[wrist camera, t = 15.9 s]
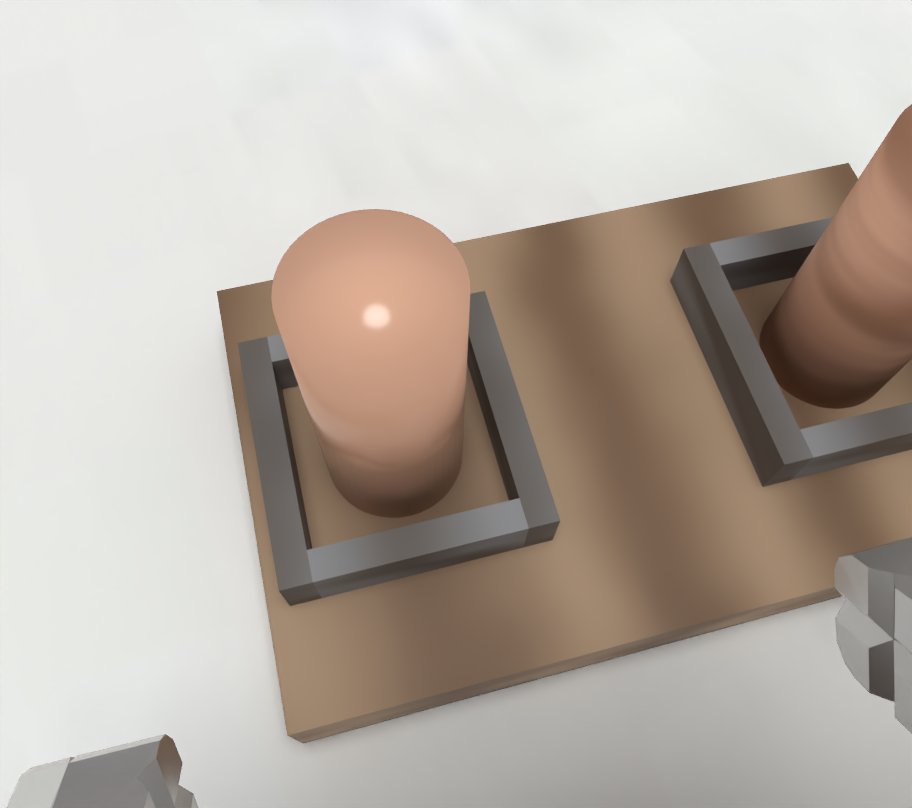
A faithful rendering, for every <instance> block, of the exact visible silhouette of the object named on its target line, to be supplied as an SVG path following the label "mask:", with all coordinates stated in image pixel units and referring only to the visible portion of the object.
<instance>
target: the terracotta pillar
mask: <svg viewBox="0 0 912 808" xmlns="http://www.w3.org/2000/svg"><path fill="white" fill-rule="evenodd" d="M271 299H272V309H273V312H274V316H275V320H276V323H277V325H278V328H279V331H280V334H281V337H282V340H283V343H284V345H285V348H286V351H287V354H288V357H289V360H290V362H291V365H292V368H293V371H294V374H295V377H296V380H297V382H298V385H299V388H300V391H301V394H302V397H303V399H304V402H305V405H306V408H307V411H308V414H309V416H310V419H311V422H312V425H313V428H314V431H315V434H316V436H317V439H318V442H319V445H320V448H321V451H322V453H323V456H324V459H325V462H326V465H327V468H328V471H329V473H330V476H331V479H332V481H333V483H334V485H335V487H336V488H337V490H338V491H339V493H340V494H341V495H342V496H343V497H344V498H345V499H346V500H347V501H348V502H349V503H350V504H352V505H353V506H355V507H356V508H358V509H360V510H362V511H364V512H366V513H369V514H372V515H375V516H380V517H387V518H400V517H407V516H411V515H415V514H418V513H420V512H423V511H425V510H427V509H429V508H430V507H432V506H434V505H435V504H436V503H438V502H439V501H440V500H441V499H443V497H444V496H445V495H446V494H447V493H448V492H449V491H450V489H451V488H452V487H453V485H454V483H455V481H456V479H457V477H458V475H459V472H460V469H461V464H462V455H463V435H464V414H465V393H466V373H467V352H468V331H469V311H470V278H469V274H468V270H467V267H466V264H465V262H464V259H463V257H462V256H461V254H460V252H459V251H458V249H457V248H456V246H455V245H454V244H453V243H452V241H451V240H450V239H449V238H448V237H447V236H446V235H445V234H444V233H442V232H441V231H440V230H438V229H437V228H436V227H434V226H433V225H431V224H429V223H427V222H426V221H424V220H422V219H419V218H417V217H415V216H412V215H409V214H405V213H402V212H397V211H391V210H380V209H369V210H358V211H352V212H348V213H344V214H340V215H337V216H334V217H331V218H329V219H327V220H325V221H323V222H321V223H318V224H317V225H315V226H314V227H312V228H310V229H309V230H307V231H306V232H305V233H304V234H302V235H301V236H300V237H299V238H298V239H297V240H296V241H295V242H294V243H293V244H292V245H291V246H290V247H289V249H288V250H287V251H286V253H285V254H284V256H283V257H282V259H281V261H280V263H279V265H278V267H277V270H276V272H275V275H274V279H273V284H272V295H271Z"/></svg>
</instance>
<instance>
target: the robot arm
mask: <svg viewBox="0 0 912 808" xmlns="http://www.w3.org/2000/svg"><path fill="white" fill-rule="evenodd" d="M834 580H835V588H836V589H837V590H838V591H839V592H840V593H841V594H842V595H843V596H844V597H845V598H846V601H845V603H844V604H843V606H842V608H841V610H840V611H839V613H838V615H837V616H836V618H835V620H836V634H837V643H838V646H839V648H840V651H841V654H842V656H843V659H844V662H845V664H846V665H847V667H848V668H849V670H850V671H851V673H852V674H853V676H854V677H855V679H856V680H857V681H858V682H859V683H860V684H861V685H862V686H863V687H864V688H865V689H866V690H867V691H868V692H869V693H871V694H874V695H877V696H880V697H882V698H885V699H888V700H891V701H894V711H895V718H896V719H897V720H898V721H899V722H900V723H901V724H902V725H903V726H904V727H905V728H906V729H907V730H908V731H909V732H910V733H912V537H910V538H907V539H903V540H899V541H896V542H892V543H888V544H885V545H881V546H878V547H874V548H870V549H867V550H863V551H859V552H856V553H852V554H848V555H845V556H841V557H839V558H838V561H837V563H836V566H835V569H834ZM181 767H182V761H181V758H180V756H179V753H178V751H177V748H176V746H175V743H174V741H173V739H172V738H170V737H169V736H167V735H166V734H165V735H161V736H156V737H152V738H148V739H144V740H140V741H136V742H132V743H127V744H123V745H119V746H115V747H111V748H107V749H103V750H99V751H94V752H90V753H86V754H82V755H78V756H76V757H70V758H66V759H62V760H59V761H55V762H51V763H47V764H43V765H40V766H36V767H32V768H30V769H29V770H27V771H26V772H25V773H23V774H22V775H21V777H20V778H19V780H18V782H17V785H16V787H15V789H14V791H13V794H12V796H11V798H10V801H9V803H8V805H7V807H6V808H198V806H197V803H196V800H195V797H194V794H193V793H191V792H189V791H188V790H186V789H185V788H183V787H181V786H180V785H178V784H179V778H180V773H181Z"/></svg>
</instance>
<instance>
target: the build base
mask: <svg viewBox="0 0 912 808" xmlns="http://www.w3.org/2000/svg"><path fill="white" fill-rule="evenodd" d="M453 244H454V245H455V246H456V248H457V249H458V251H459V252H460V254H461V256H462V257H463V259H464V262H465V264H466V267H467V270H468V274H469V278H470V311H469V331H468V352H467V373H466V393H465V414H464V435H463V455H462V464H461V469H460V472H459V475H458V477H457V479H456V481H455V483H454V485H453V487H452V488H451V489H450V491H449V492H448V493H447V494H446V495H445V496H444V497H443V499H441V500H440V501H439V502H438V503H436V504H435V505H434V506H432V507H430V508H429V509H427V510H425V511H423V512H420V513H418V514H415V515H411V516H407V517H400V518H387V517H380V516H375V515H372V514H369V513H366V512H364V511H362V510H360V509H358V508H356V507H355V506H353V505H352V504H350V503H349V502H348V501H347V500H346V499H345V498H344V497H343V496H342V495H341V494H340V493H339V491H338V490H337V488H336V487H335V485H334V483H333V481H332V479H331V476H330V473H329V471H328V468H327V465H326V462H325V459H324V456H323V453H322V451H321V448H320V445H319V442H318V439H317V436H316V434H315V431H314V428H313V425H312V422H311V419H310V416H309V414H308V411H307V408H306V405H305V402H304V399H303V397H302V394H301V391H300V388H299V385H298V382H297V380H296V377H295V374H294V371H293V368H292V365H291V362H290V360H289V357H288V354H287V351H286V348H285V345H284V343H283V340H282V337H281V334H280V331H279V328H278V325H277V323H276V320H275V316H274V312H273V309H272V299H271V295H272V284H273V280H270V281H265V282H261V283H256V284H251V285H246V286H241V287H236V288H231V289H226V290H221V291H217V295H218V301H219V308H220V314H221V320H222V327H223V333H224V339H225V345H226V352H227V358H228V364H229V371H230V377H231V383H232V389H233V396H234V402H235V408H236V415H237V421H238V427H239V433H240V440H241V446H242V452H243V459H244V465H245V471H246V477H247V484H248V490H249V496H250V502H251V509H252V515H253V521H254V528H255V534H256V540H257V546H258V553H259V559H260V565H261V572H262V578H263V584H264V590H265V597H266V603H267V609H268V616H269V622H270V628H271V634H272V641H273V647H274V653H275V660H276V666H277V672H278V678H279V685H280V691H281V697H282V704H283V710H284V716H285V722H286V729H287V735H288V736H290V737H292V738H294V739H296V740H298V741H300V742H302V743H306V742H309V741H313V740H317V739H320V738H324V737H328V736H331V735H335V734H339V733H342V732H346V731H350V730H353V729H357V728H361V727H364V726H368V725H372V724H375V723H379V722H382V721H386V720H390V719H393V718H397V717H401V716H404V715H408V714H412V713H415V712H419V711H423V710H426V709H430V708H434V707H437V706H441V705H445V704H448V703H452V702H456V701H459V700H463V699H467V698H470V697H474V696H478V695H481V694H485V693H489V692H492V691H496V690H500V689H503V688H507V687H511V686H514V685H518V684H522V683H525V682H529V681H533V680H536V679H540V678H544V677H547V676H551V675H554V674H558V673H562V672H565V671H569V670H573V669H576V668H580V667H584V666H587V665H591V664H595V663H598V662H602V661H606V660H609V659H613V658H617V657H620V656H624V655H628V654H631V653H635V652H639V651H642V650H646V649H650V648H653V647H657V646H661V645H664V644H668V643H672V642H675V641H679V640H683V639H686V638H690V637H694V636H697V635H701V634H705V633H708V632H712V631H716V630H719V629H723V628H726V627H730V626H734V625H737V624H741V623H745V622H748V621H752V620H756V619H759V618H763V617H767V616H770V615H774V614H778V613H781V612H785V611H789V610H792V609H796V608H800V607H803V606H807V605H811V604H814V603H818V602H822V601H825V600H829V599H833V598H836V597H840V596H843V595H842V594H841V593H840V592H839V591H838V590H837V589H836V588H835V580H834V569H835V566H836V563H837V561H838V558H839V557H841V556H845V555H848V554H852V553H856V552H859V551H863V550H867V549H870V548H874V547H878V546H881V545H885V544H888V543H892V542H896V541H899V540H903V539H907V538H910V537H912V105H910V106H909V107H908V108H907V109H905V110H904V111H903V113H902V114H901V115H900V116H899V118H898V119H897V121H896V122H895V124H894V125H893V127H892V128H891V130H890V131H889V133H888V134H887V136H886V137H885V139H884V141H883V142H882V144H881V145H880V147H879V148H878V150H877V151H876V153H875V154H874V156H873V157H872V159H871V160H870V162H869V164H868V165H867V167H866V168H865V170H864V171H863V173H862V174H861V176H860V177H859V179H858V178H857V176H856V175H855V173H854V171H853V170H852V168H851V167H850V165H849V163H846V164H841V165H836V166H832V167H827V168H822V169H817V170H812V171H807V172H802V173H797V174H792V175H787V176H782V177H777V178H772V179H768V180H763V181H758V182H753V183H748V184H743V185H738V186H733V187H728V188H723V189H718V190H713V191H708V192H704V193H699V194H694V195H689V196H684V197H679V198H674V199H669V200H664V201H659V202H654V203H649V204H644V205H640V206H635V207H630V208H625V209H620V210H615V211H610V212H605V213H600V214H595V215H590V216H585V217H580V218H576V219H571V220H566V221H561V222H556V223H551V224H546V225H541V226H536V227H531V228H526V229H521V230H516V231H512V232H507V233H502V234H497V235H492V236H487V237H482V238H477V239H472V240H467V241H462V242H457V243H453Z"/></svg>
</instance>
